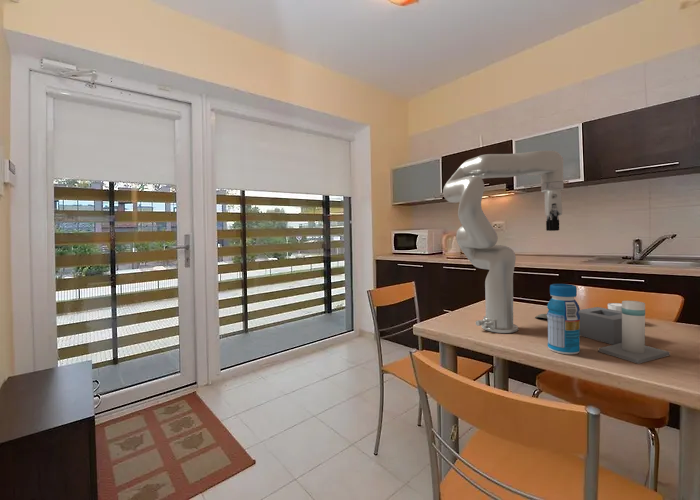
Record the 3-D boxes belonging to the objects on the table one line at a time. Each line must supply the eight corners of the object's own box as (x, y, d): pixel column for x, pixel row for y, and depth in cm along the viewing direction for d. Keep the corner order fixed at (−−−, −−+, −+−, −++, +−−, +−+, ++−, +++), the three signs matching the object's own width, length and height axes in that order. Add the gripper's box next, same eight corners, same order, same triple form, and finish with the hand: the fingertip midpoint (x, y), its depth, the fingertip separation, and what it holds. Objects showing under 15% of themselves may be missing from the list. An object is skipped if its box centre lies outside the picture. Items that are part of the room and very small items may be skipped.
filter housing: (613, 345, 100) (614, 319, 99) (572, 333, 112) (572, 311, 112) (640, 339, 104) (640, 314, 104) (597, 328, 116) (597, 306, 116)
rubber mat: (638, 363, 86) (638, 360, 86) (598, 351, 95) (598, 348, 95) (669, 355, 90) (669, 351, 90) (628, 344, 100) (628, 341, 100)
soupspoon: (547, 319, 135) (532, 320, 135) (546, 311, 135) (531, 312, 135) (586, 332, 113) (568, 334, 113) (586, 323, 113) (568, 325, 113)
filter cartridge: (637, 354, 89) (638, 305, 89) (617, 348, 94) (617, 301, 94) (649, 351, 91) (649, 303, 91) (628, 345, 96) (628, 299, 95)
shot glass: (628, 321, 124) (628, 303, 123) (632, 326, 118) (632, 307, 118) (606, 319, 127) (606, 302, 127) (608, 323, 122) (608, 305, 121)
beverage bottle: (544, 351, 97) (544, 286, 96) (549, 343, 103) (548, 282, 102) (579, 357, 91) (578, 288, 90) (581, 348, 98) (581, 284, 97)
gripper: (567, 184, 118) (567, 230, 119) (559, 189, 134) (559, 230, 134) (543, 186, 121) (544, 231, 122) (539, 191, 137) (539, 230, 138)
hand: (552, 230), depth 128 cm, fingers open, 9 cm apart
